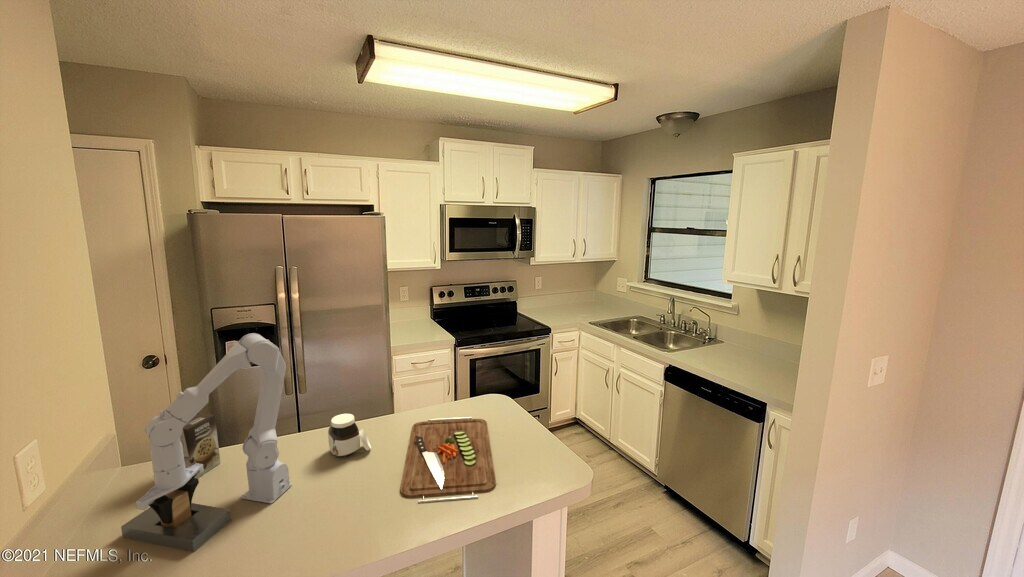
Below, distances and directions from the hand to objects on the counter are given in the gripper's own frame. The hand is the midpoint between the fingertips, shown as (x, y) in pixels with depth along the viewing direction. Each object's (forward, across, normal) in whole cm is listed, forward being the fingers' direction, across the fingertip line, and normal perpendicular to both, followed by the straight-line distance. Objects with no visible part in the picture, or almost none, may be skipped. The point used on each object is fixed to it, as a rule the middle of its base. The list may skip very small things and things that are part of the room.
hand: (176, 515), depth 100 cm
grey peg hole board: (+4, 0, 0) cm, 4 cm away
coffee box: (+4, -20, -16) cm, 26 cm away
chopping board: (+4, -44, +53) cm, 70 cm away
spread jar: (+4, -39, +22) cm, 45 cm away
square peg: (+3, 0, 0) cm, 3 cm away
